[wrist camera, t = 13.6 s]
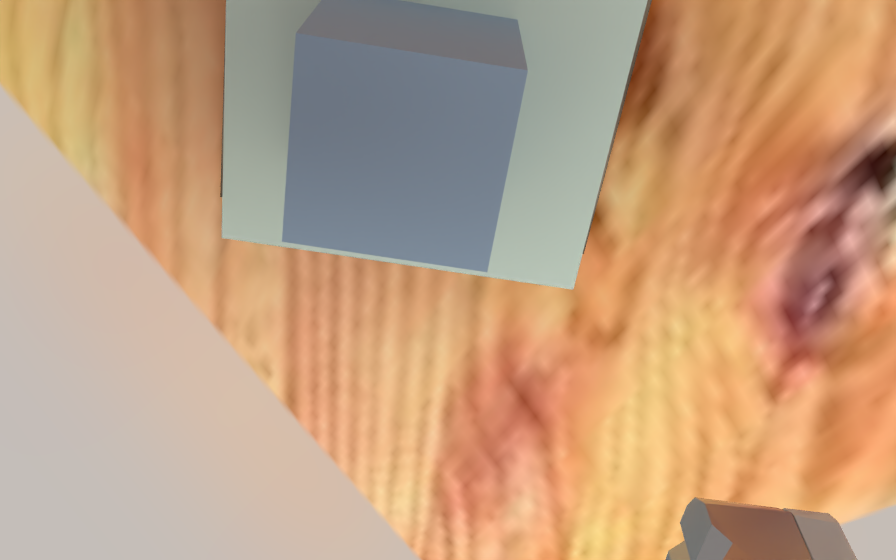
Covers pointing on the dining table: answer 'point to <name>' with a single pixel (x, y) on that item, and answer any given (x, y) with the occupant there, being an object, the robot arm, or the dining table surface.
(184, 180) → the dining table surface
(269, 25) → the sage slab
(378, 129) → the blue cube
